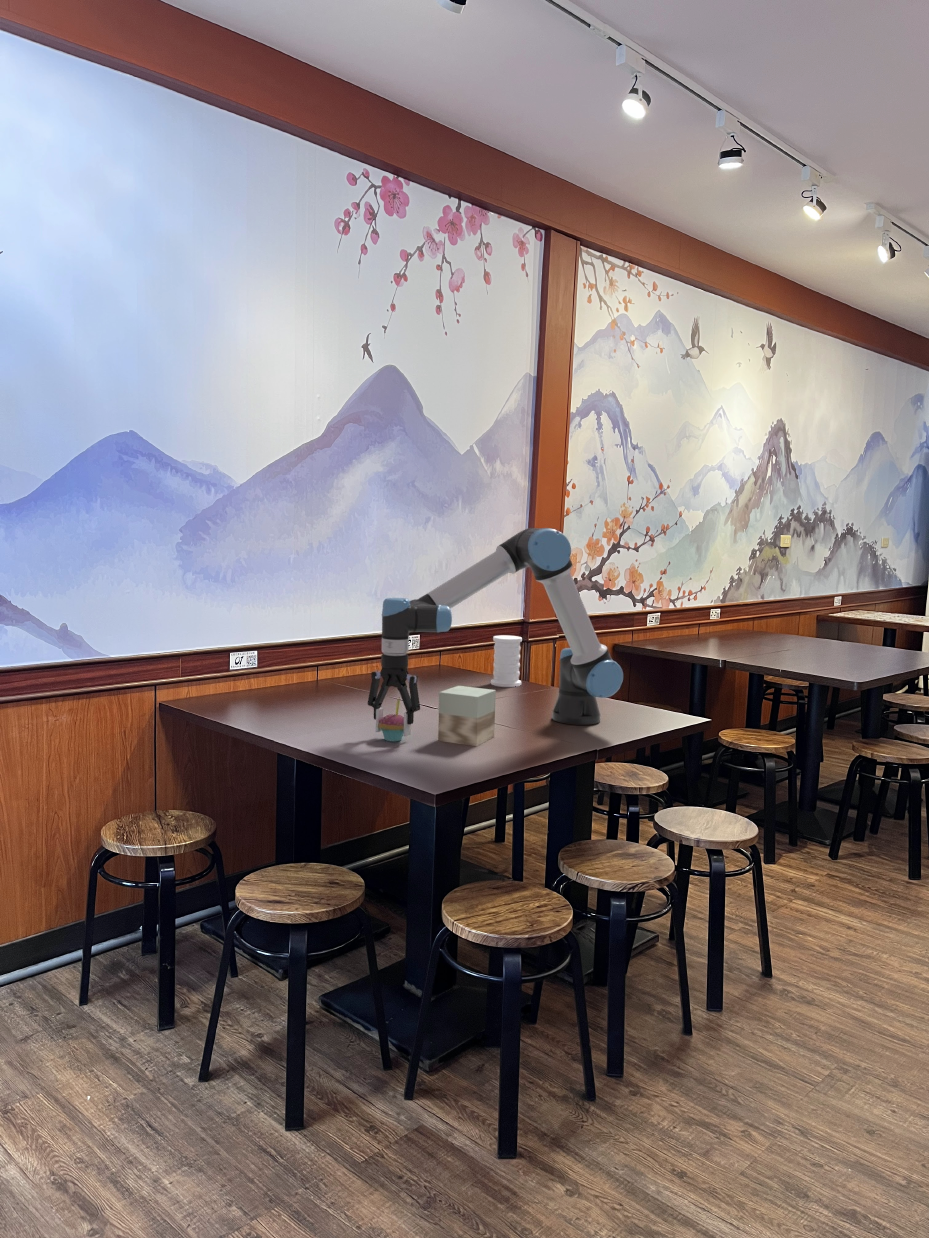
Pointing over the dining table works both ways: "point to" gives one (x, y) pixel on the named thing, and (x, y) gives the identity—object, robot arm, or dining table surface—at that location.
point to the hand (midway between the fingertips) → (393, 733)
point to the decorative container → (506, 661)
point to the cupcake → (392, 726)
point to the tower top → (467, 701)
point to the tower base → (466, 729)
